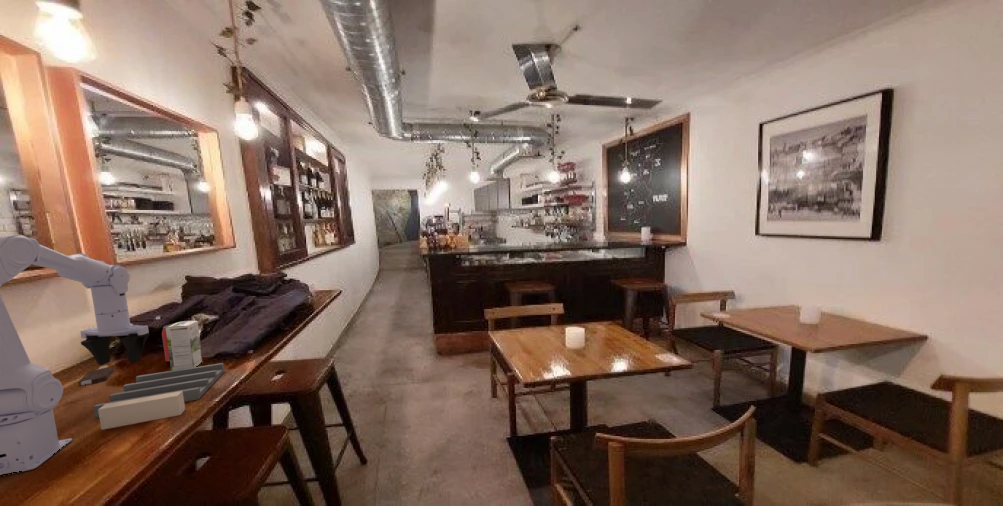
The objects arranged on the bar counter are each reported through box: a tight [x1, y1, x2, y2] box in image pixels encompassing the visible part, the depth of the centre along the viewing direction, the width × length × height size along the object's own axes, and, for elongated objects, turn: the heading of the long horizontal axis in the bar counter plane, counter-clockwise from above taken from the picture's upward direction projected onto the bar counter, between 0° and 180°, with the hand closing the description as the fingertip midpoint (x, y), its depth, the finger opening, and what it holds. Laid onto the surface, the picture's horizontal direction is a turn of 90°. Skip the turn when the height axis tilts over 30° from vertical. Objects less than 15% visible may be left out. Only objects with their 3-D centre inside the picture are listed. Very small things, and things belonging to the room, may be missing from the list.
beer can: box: [161, 322, 176, 362], centre depth 117 cm, size 7×7×12 cm
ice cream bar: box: [78, 364, 115, 387], centre depth 107 cm, size 5×2×15 cm
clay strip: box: [98, 391, 186, 431], centre depth 82 cm, size 14×2×5 cm, turn 111°
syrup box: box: [166, 320, 203, 371], centre depth 110 cm, size 6×6×14 cm
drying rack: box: [93, 362, 226, 419], centre depth 95 cm, size 18×20×3 cm
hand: (120, 362), depth 91 cm, fingers open, 7 cm apart
